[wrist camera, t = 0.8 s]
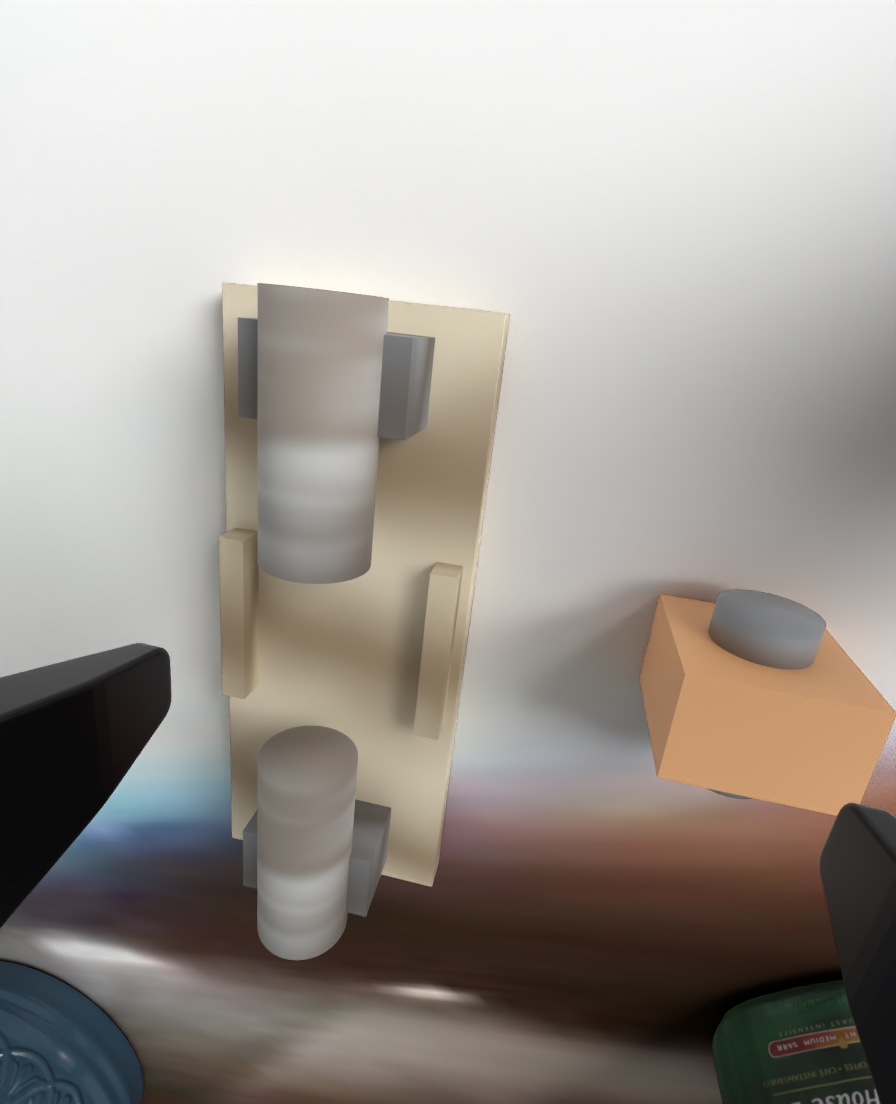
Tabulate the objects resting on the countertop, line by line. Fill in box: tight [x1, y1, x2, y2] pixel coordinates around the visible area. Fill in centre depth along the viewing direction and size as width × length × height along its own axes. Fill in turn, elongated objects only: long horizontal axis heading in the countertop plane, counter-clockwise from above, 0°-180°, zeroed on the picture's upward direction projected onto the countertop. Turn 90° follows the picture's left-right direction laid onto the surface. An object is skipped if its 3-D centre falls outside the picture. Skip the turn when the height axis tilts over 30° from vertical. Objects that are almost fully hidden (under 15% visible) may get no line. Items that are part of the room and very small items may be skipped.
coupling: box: [639, 589, 896, 816], centre depth 17 cm, size 5×5×5 cm
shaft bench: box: [219, 282, 510, 960], centre depth 19 cm, size 20×8×5 cm, turn 173°
